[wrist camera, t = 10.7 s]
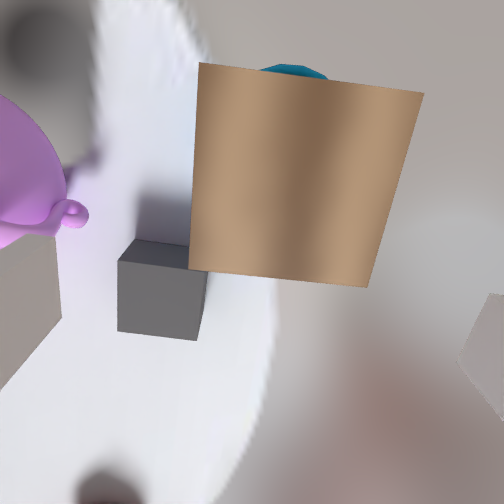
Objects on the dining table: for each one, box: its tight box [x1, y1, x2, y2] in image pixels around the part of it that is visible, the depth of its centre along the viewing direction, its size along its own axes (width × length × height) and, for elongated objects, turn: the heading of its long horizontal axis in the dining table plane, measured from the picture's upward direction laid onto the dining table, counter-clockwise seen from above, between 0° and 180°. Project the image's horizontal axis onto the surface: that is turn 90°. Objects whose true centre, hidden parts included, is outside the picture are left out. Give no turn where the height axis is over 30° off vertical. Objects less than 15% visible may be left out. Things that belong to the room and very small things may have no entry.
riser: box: [117, 239, 208, 341], centre depth 31 cm, size 7×7×4 cm
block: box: [188, 62, 424, 288], centre depth 20 cm, size 11×11×3 cm
